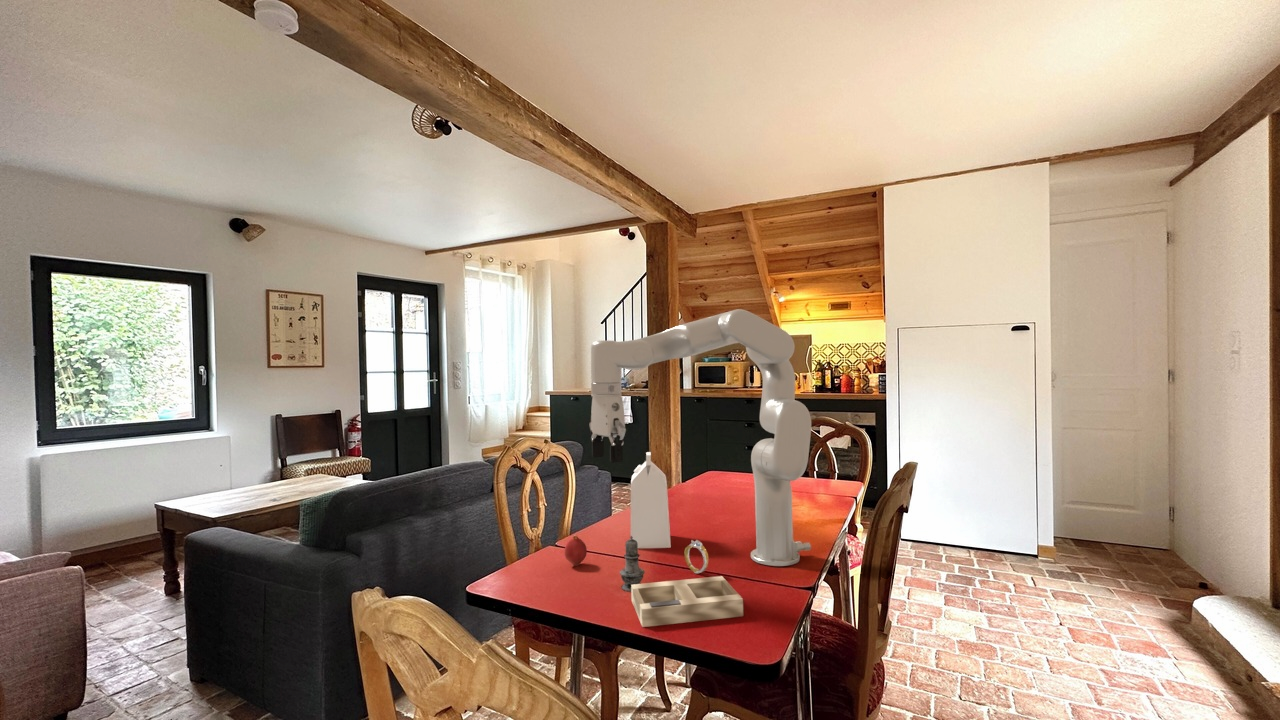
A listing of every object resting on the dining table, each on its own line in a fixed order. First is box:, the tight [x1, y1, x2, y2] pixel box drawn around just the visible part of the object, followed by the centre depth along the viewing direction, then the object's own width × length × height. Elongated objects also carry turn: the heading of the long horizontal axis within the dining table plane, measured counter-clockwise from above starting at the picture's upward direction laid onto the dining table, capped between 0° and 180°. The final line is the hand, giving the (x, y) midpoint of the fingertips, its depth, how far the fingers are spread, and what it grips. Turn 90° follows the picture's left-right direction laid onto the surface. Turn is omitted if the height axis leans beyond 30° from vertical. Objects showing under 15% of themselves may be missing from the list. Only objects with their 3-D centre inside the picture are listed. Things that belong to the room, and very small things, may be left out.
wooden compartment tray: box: [630, 575, 744, 628], centre depth 118 cm, size 21×13×4 cm, turn 100°
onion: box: [564, 534, 588, 567], centre depth 146 cm, size 6×6×8 cm
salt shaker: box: [619, 535, 646, 593], centre depth 130 cm, size 6×6×12 cm
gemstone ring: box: [683, 539, 709, 574], centre depth 138 cm, size 7×3×8 cm, turn 38°
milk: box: [630, 451, 672, 549], centre depth 165 cm, size 12×12×26 cm
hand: (606, 459), depth 138 cm, fingers open, 9 cm apart
